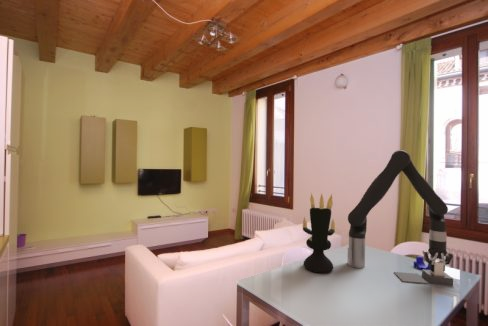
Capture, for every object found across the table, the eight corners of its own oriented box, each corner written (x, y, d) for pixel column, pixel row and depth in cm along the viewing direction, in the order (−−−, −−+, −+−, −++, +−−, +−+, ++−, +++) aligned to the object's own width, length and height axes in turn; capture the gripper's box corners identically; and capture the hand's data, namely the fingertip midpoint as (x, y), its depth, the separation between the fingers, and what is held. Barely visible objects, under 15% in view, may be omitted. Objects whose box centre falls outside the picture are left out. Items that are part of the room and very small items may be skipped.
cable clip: (413, 266, 162) (413, 256, 162) (421, 266, 162) (421, 256, 162) (427, 274, 150) (427, 263, 150) (435, 274, 150) (435, 263, 150)
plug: (434, 281, 140) (435, 262, 140) (430, 278, 144) (431, 259, 144) (443, 282, 140) (443, 263, 140) (439, 279, 144) (439, 260, 144)
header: (431, 283, 138) (431, 276, 138) (421, 275, 148) (422, 269, 148) (453, 285, 136) (453, 278, 136) (442, 277, 146) (442, 270, 146)
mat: (402, 282, 139) (402, 280, 139) (393, 272, 151) (393, 271, 151) (428, 284, 137) (428, 283, 137) (417, 274, 149) (417, 273, 149)
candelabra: (333, 263, 163) (334, 189, 163) (340, 279, 141) (341, 193, 141) (301, 261, 166) (303, 188, 167) (303, 275, 145) (304, 192, 145)
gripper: (426, 240, 140) (425, 273, 139) (457, 241, 137) (456, 275, 137) (419, 236, 147) (419, 267, 147) (448, 238, 145) (447, 269, 145)
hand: (437, 271), depth 142 cm, fingers closed on plug, 4 cm apart
